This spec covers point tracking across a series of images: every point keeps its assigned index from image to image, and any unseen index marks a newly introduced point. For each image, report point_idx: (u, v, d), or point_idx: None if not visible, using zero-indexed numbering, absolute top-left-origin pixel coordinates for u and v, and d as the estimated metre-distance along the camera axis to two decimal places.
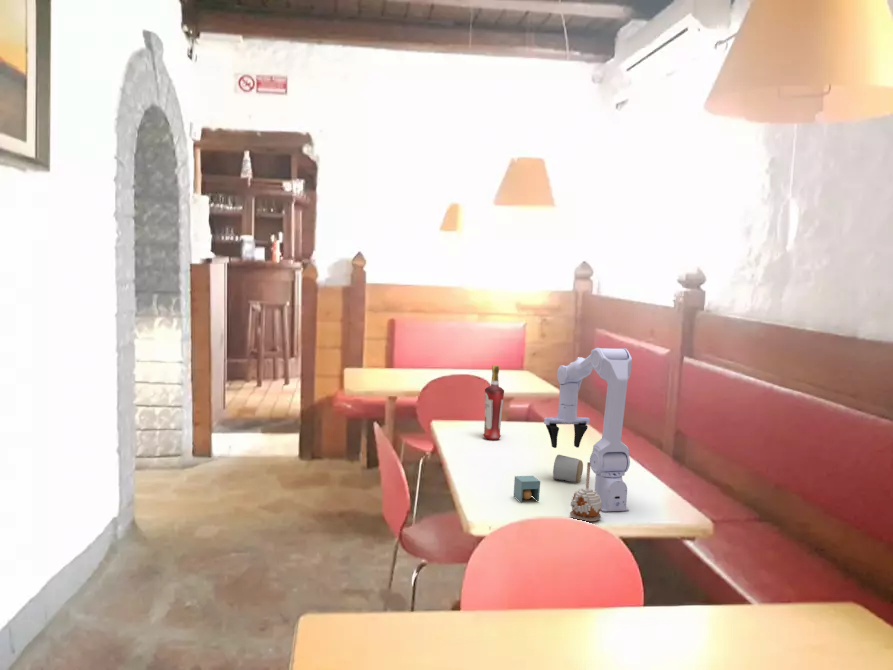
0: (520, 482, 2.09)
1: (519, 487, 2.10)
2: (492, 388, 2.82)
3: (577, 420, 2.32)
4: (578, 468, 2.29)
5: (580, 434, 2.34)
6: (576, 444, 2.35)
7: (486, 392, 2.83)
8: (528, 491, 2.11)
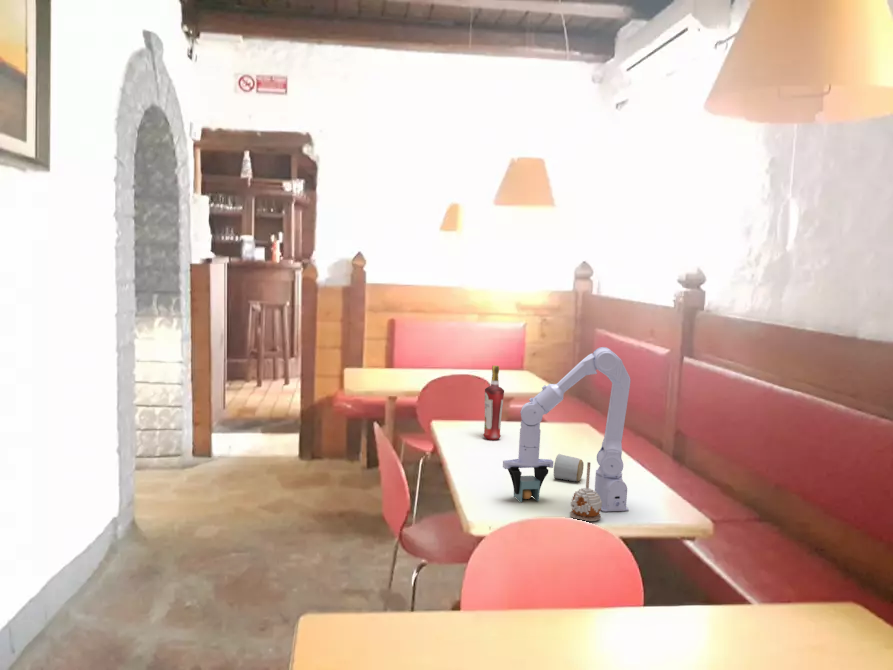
0: (520, 482, 2.09)
1: (519, 487, 2.10)
2: (492, 388, 2.82)
3: (539, 463, 2.09)
4: (578, 467, 2.30)
5: (540, 479, 2.10)
6: None
7: (486, 392, 2.83)
8: (528, 491, 2.11)
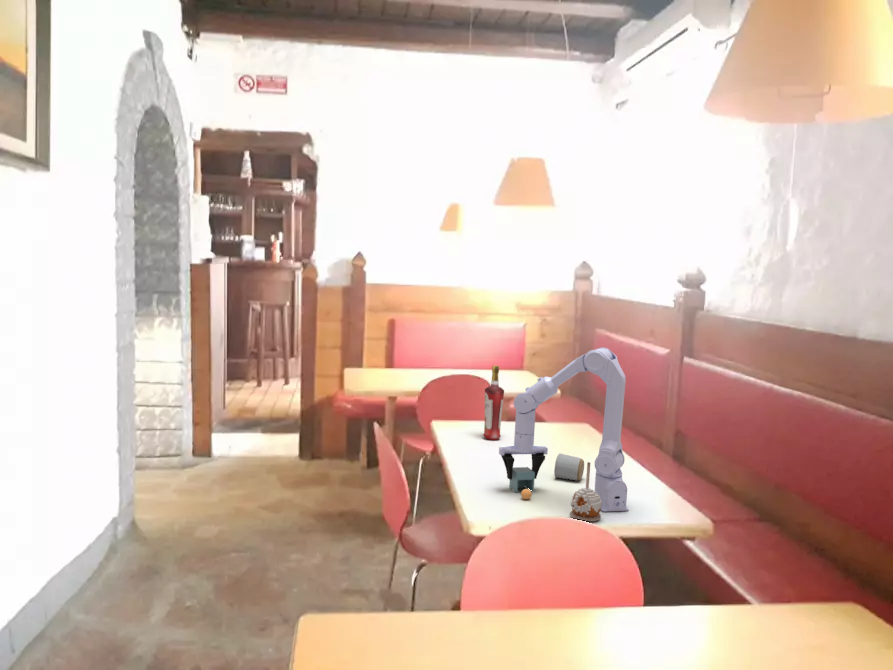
0: (515, 473, 2.18)
1: (514, 477, 2.19)
2: (492, 388, 2.82)
3: (534, 450, 2.18)
4: (579, 467, 2.31)
5: (537, 465, 2.20)
6: None
7: (486, 392, 2.83)
8: (528, 491, 2.11)
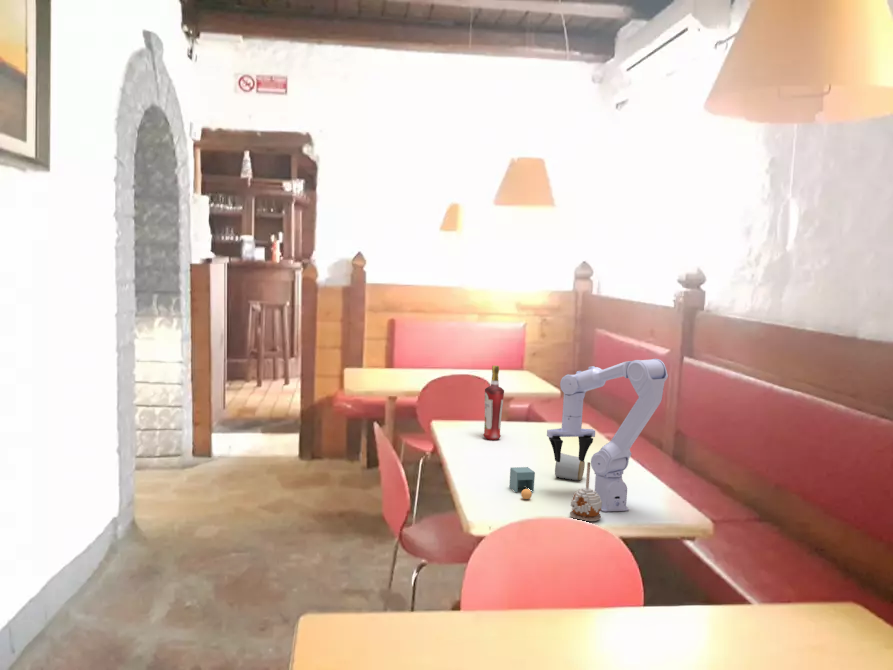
0: (515, 473, 2.18)
1: (514, 477, 2.19)
2: (492, 388, 2.82)
3: (582, 432, 2.18)
4: (580, 466, 2.31)
5: (585, 447, 2.19)
6: (581, 458, 2.20)
7: (486, 392, 2.83)
8: (528, 491, 2.11)
